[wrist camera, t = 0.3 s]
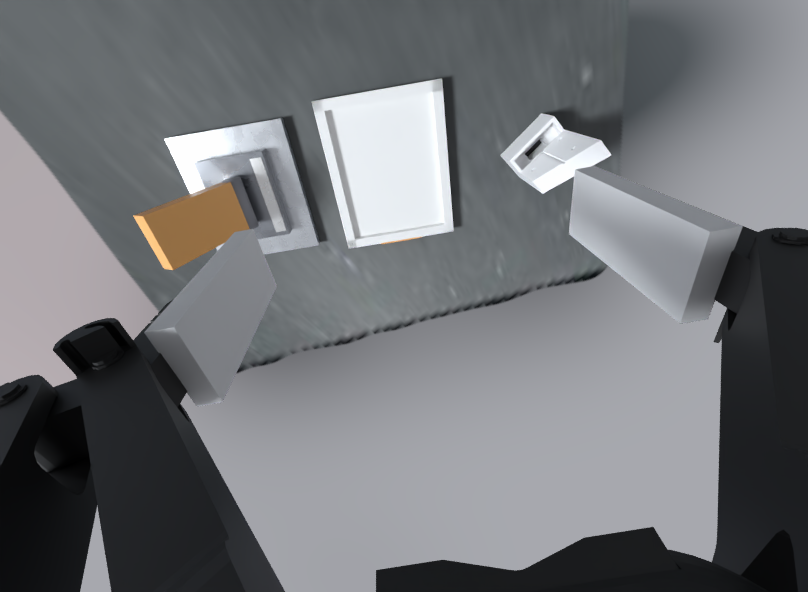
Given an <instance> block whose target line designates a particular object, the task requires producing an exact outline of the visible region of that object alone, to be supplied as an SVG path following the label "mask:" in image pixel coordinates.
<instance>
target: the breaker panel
mask: <svg viewBox="0 0 808 592" xmlns="http://www.w3.org/2000/svg"><path fill="white" fill-rule="evenodd" d="M165 141H166V143H167V146H168V148H169V150H170V152H171V154H172V156H173V158H174V160H175V162H176V164H177V167H178V169H179V171H180V173H181V175H182V177H183V179H184V181H185V183H186V185H187V188H188V190H189V192H190V194H192V193H194V192H197V191H200V190H202V189H205V188H208V187H210V186H213V185H216V184H218V183H221V182H222V181H223V180H225V179H228V178H232V177H240V178H241V180H242V183H243V185H244V188H245V190H246V193H247V196H248V198H249V201H250V203H251V206H252V208H253V211H254V214H255V216H256V219H257V221H258V224H259V226H258V227H257V228H254V229H253V230H254V232H255V235H256V237H257V240H258V242H259V244H260V247H261V249H262V252H263V254H269V253H275V252H281V251H287V250H293V249H299V248H305V247H311V246H317V245H319V243H320V241H319V237H318V234H317V231H316V227H315V224H314V221H313V217H312V214H311V211H310V207H309V204H308V201H307V197H306V194H305V190H304V187H303V184H302V180H301V177H300V174H299V170H298V167H297V164H296V160H295V157H294V154H293V150H292V147H291V144H290V140H289V137H288V134H287V130H286V127H285V124H284V120H283V118H277V119H272V120H266V121H260V122H254V123H249V124H243V125H237V126H231V127H226V128H220V129H214V130H208V131H203V132H197V133H191V134H185V135H180V136H174V137H169V138H165ZM223 244H224V243H223ZM223 244H221V245H220V246H218V247H216V249H217V251H218V250H219V249H220V248H221V247H222V246H223Z"/></svg>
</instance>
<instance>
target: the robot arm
mask: <svg viewBox="0 0 808 592" xmlns="http://www.w3.org/2000/svg"><path fill="white" fill-rule="evenodd" d="M569 234H570V235H571V236H572V237H573V238H575V239H576V240H577V241H578V242H580V243H581V244H582V245H583V246H584V247H586V248H587V249H588V250H589V251H591V252H592V253H593V254H594V255H596V256H597V257H598V258H599V259H601V260H602V261H603V262H604V263H606V264H607V265H608V266H609V267H611V268H612V269H613V270H614V271H616V272H617V273H618V274H619V275H620V276H622V277H623V278H624V279H625V280H627V281H628V282H629V283H630V284H632V285H633V286H634V287H635V288H636V289H638V290H639V291H640V292H641V293H643V294H644V295H645V296H646V297H648V298H649V299H650V300H651V301H653V302H654V303H655V304H656V305H658V306H659V307H660V308H661V309H662V310H664V311H665V312H666V313H667V314H669V315H670V316H671V317H672V318H674V319H675V320H676V321H677V322H679V323H680V324H683V323H688V322H694V321H700V320H706V319H708V318H709V315H710V312H711V310H712V307H713V304H714V302H715V300H716V301H718V302H719V303H721V304H722V305H724V306H726V307H727V310H726V312H725V315H724V318H723V320H722V322H721V325H720V327H719V330H718V332H717V335H716V337H715V340H714V342H716V343H719V342H720V340H721V339H722V354H721V356H722V357H721V358H722V359H721V397H720V441H719V483H718V526H717V527H718V528H717V544H716V549H715V553H714V557H713V561H712V562H709V561H706V560H704V559H701V558H698V557H696V556H693V555H689V554H685V553H681V552H677V551H673V550H667V548H666V547H665V545H664V544H663V542H662V541H661V539H660V537H659V536H658V534H657V533H656V531H655V529H654V527H650V528H644V529H637V530H631V531H625V532H618V533H612V534H606V535H599V536H592V537H586V538H583V539H581V540H579V541H577V542H575V543H574V544H572V545H570V546H568V547H566V548H564V549H562V550H560V551H558V552H556V553H554V554H552V555H551V556H549V557H547V558H545V559H543V560H541V561H539V562H537V563H535V564H533V565H532V566H530V567H528V568H526V569H523V570H517V571H514V570H506V569H500V568H493V567H487V566H480V565H473V564H467V563H460V562H454V561H447V560H439V561H432V562H426V563H419V564H413V565H407V566H401V567H394V568H388V569H381V570H376V592H808V230H805V229H799V228H772V229H765V230H763V231H760V232H756V231H754V230H751V229H749V228H746V227H744V226H741V225H739V224H736V223H734V222H731V221H728V220H726V219H724V218H721V217H719V216H717V215H714V214H712V213H709V212H707V211H704V210H702V209H699V208H697V207H694V206H692V205H689V204H686V203H684V202H682V201H679V200H677V199H675V198H672V197H670V196H667V195H665V194H662V193H660V192H657V191H655V190H652V189H650V188H647V187H645V186H643V185H640V184H638V183H635V182H632V181H630V180H628V179H625V178H623V177H620V176H618V175H615V174H613V173H610V172H608V171H606V170H603V169H601V168H598V167H596V166H591V167H586V168H580V169H575V174H574V185H573V195H572V206H571V216H570V227H569ZM276 287H277V285H276V283H275V280H274V278H273V276H272V273H271V271H270V268H269V266H268V264H267V261H266V259H265V256H264V254H263V252H262V249H261V247H260V244H259V242H258V240H257V237H256V235H255V232H254V230H253V229H249V230H243V231H238V232H234V233H233V234H232V236H231V237H230V238H229V239H228V240H227V241H226V242H225V243H224V244H223V246H222V247H221V248H220V249H219V250H218V251H217V252H216V253H215V254H214V255H213V257H212V258H211V259H210V260H209V261H208V262H207V263H206V264H205V265H204V267H203V268H202V269H201V270H200V271H199V272H198V273H197V274H196V275H195V277H194V278H193V279H192V280H191V281H190V282H189V283H188V284H187V285H186V286H185V288H184V289H183V290H182V291H181V292H180V293H179V294H178V295H177V296H176V298H175V299H173V300H172V301H170V302H169V303H167V304H166V305H165V306H164V307H163V309H162V310H161V311H160V312H159V313H158V315H157V316H155V317H154V318H153V320H152V321H151V323H149V324H148V325H147V326H146V327H145V328H144V329H143V330H142V331H141V333H140V334H139V335H138V336H137V337H136V338H135V339H134V340H132V339H131V337H130V336H129V335H128V333H127V332H126V330H125V329H124V328H123V327H122V325H121V324H120V322H119V321H118V320H116V319H115V318H106V319H102V320H97V321H94V322H91V323H89V324H86V325H84V326H82V327H80V328H78V329H76V330H74V331H72V332H71V333H69V334H67V335H66V336H64V337H63V338H62V339H60V340H59V341H58V342H57V343H56V344H55V346H54V348H53V351H54V352H55V353H56V354H57V355H58V356H59V357H60V358H61V359H62V361H63V362H64V363H65V364H66V365H67V366H68V367H69V368H70V369H71V370H72V371H73V372H74V374H75V375H76V376H77V379H75V380H73V381H70V382H67V383H64V384H61V385H59V386H56V387H52V386H51V385H50V384H49V383H48V382H47V381H46V380H45V379H44V378H43V377H42V376H40V375H31V376H27V377H24V378H21V379H18V380H15V381H13V382H11V383H6V384H4V385H2V386H0V592H80V589H81V584H82V579H83V573H84V569H85V564H86V559H87V554H88V548H89V543H90V538H91V533H92V528H93V523H94V518H95V513H96V508H97V505H98V512H99V518H100V524H101V530H102V535H103V542H104V549H105V555H106V561H107V567H108V573H109V579H110V585H111V592H285V591H284V589H283V587H282V585H281V584H280V582H279V580H278V578H277V576H276V574H275V573H274V571H273V569H272V567H271V565H270V563H269V562H268V560H267V558H266V556H265V554H264V552H263V551H262V549H261V547H260V545H259V543H258V542H257V540H256V538H255V536H254V534H253V532H252V531H251V529H250V527H249V525H248V523H247V521H246V520H245V518H244V516H243V514H242V512H241V511H240V509H239V507H238V505H237V503H236V501H235V500H234V498H233V496H232V494H231V492H230V491H229V489H228V487H227V485H226V483H225V481H224V480H223V478H222V476H221V474H220V472H219V470H218V469H217V467H216V465H215V463H214V461H213V459H212V458H211V456H210V454H209V452H208V451H207V449H206V447H205V445H204V443H203V441H202V440H201V438H200V436H199V434H198V432H197V430H196V428H195V427H194V425H193V423H192V421H191V419H190V418H189V416H188V414H187V412H186V411H185V409H184V408H183V407H182V405H181V404H180V403H181V401H182V399H183V398H184V396H185V394H186V393H188V395H189V396H190V397H191V399H192V400H193V402H194V403H195V404H196V406H203V405H208V404H215V403H221V402H223V400H224V398H225V396H226V394H227V391H228V390H229V387H230V385H231V383H232V381H233V379H234V377H235V375H236V373H237V370H238V368H239V366H240V364H241V362H242V360H243V358H244V355H245V353H246V351H247V349H248V347H249V345H250V343H251V340H252V338H253V336H254V334H255V332H256V330H257V328H258V326H259V323H260V321H261V319H262V317H263V315H264V313H265V311H266V308H267V306H268V304H269V302H270V300H271V298H272V296H273V293H274V291H275V289H276Z"/></svg>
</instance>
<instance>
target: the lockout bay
mask: <svg viewBox="0 0 808 592" xmlns="http://www.w3.org/2000/svg"><path fill="white" fill-rule="evenodd" d="M311 102H312V105H313V109H314V113H315V117H316V121H317V125H318V129H319V133H320V137H321V141H322V145H323V149H324V153H325V157H326V161H327V165H328V168H329V172H330V176H331V180H332V184H333V188H334V192H335V196H336V200H337V204H338V208H339V212H340V216H341V220H342V224H343V228H344V231H345V235H346V239H347V243H348V247H349V249H350V248H356V247H362V246H368V245H374V244H380V243H381V244H386V243H392V242H398V241H404V240H410V239H416V238H421V237H422V236H428V235H434V234H440V233H446V232H452V231H454V229H453V216H452V203H451V189H450V176H449V163H448V150H447V137H446V124H445V110H444V97H443V84H442V79H435V80H429V81H424V82H418V83H412V84H406V85H401V86H395V87H389V88H384V89H378V90H372V91H366V92H361V93H355V94H349V95H344V96H338V97H332V98H326V99H321V100H315V101H311Z"/></svg>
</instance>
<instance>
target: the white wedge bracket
mask: <svg viewBox="0 0 808 592" xmlns="http://www.w3.org/2000/svg"><path fill="white" fill-rule="evenodd" d="M538 140H540V141H541V142H542V143H541V144H540V145H539V146H538V147H537V148H536V149H535V150H534V151H533V152H532V153H531V154H530V155H529V156H528V157H527V156H526V155H525V153H526V152H527V151H528V150H529V149H530V148H531V147H532V146H533V145H534V144H535V143H536V142H537V141H538ZM500 156H501V157H502V158H503V159H504V160H505V161H506V162H507V164H508V165H509V166H510V167H511V168H512V169H513V170H514V172H515V173H516V174H517V175H518V176H519V177H520V178H521V179H523V180H524V181H525V182H527V183H528V184H530V185H531V186H533V187H534V188H535V189H537V190H538V191H540V192H541V193H542V194H543V193H545V192H547V191H548V190H550V189H552V188H554V187H555V186H557V185H559V184H561V183H563V182H564V181H566V180H568V179H570V178H572V177H573V176H574V174H575V169H580V168H586V167H591V166H593V165H595V164H597V163H598V162H600V161H602V160H604V159H606V158H607V157H609V156H611V154H610V152H609V151H608V149H607V148H606V147H605V145H604V144H603V142H602V141H601V140H599V139H596V138H592V137H588V136H585V135H581V134H578V133H574V132H571V131H567V130H564V129H563V127H562V126H561V125H560V123H559V122H558V121H557V119H556V118H555V117H554V116H552V115H547V114H543V113H541V114H540V115H539V117H538V118H537V119H536V120H535V121H534V122H533V123H532V124H531V125H530V126H529V127H528V128H527V129H526V130H525V131H524V132H523V133H522V134H521V135H520V136H519V137H518V138H517V139H516V140H515V141H514V142H513V143H512V144H511V145H510V146H509V147H508V148H507V149H506V150H505V151H504V152H503V153H502V154H501V155H500Z"/></svg>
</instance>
